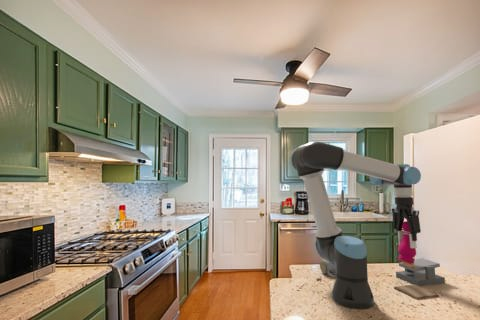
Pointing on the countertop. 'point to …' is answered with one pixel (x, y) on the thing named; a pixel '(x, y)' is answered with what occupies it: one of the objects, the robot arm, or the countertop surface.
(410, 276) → the switch housing
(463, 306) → the countertop surface
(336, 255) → the robot arm
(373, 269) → the countertop surface
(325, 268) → the ceramic mug
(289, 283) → the countertop surface
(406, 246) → the pepper mill
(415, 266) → the breaker rocker
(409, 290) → the coaster
